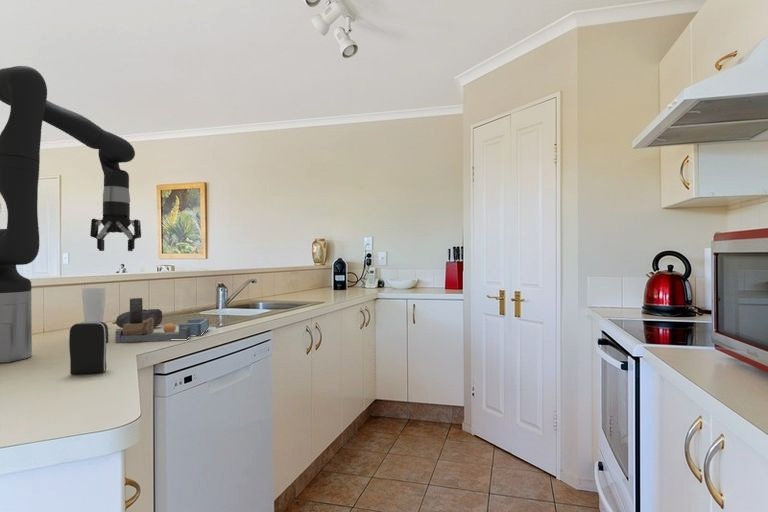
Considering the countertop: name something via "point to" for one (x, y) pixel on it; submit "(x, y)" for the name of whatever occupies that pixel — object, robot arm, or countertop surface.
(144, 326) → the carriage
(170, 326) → the ball
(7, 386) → the countertop surface
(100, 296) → the drinking glass
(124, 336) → the rail
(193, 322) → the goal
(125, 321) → the perforated stone tool
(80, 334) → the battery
